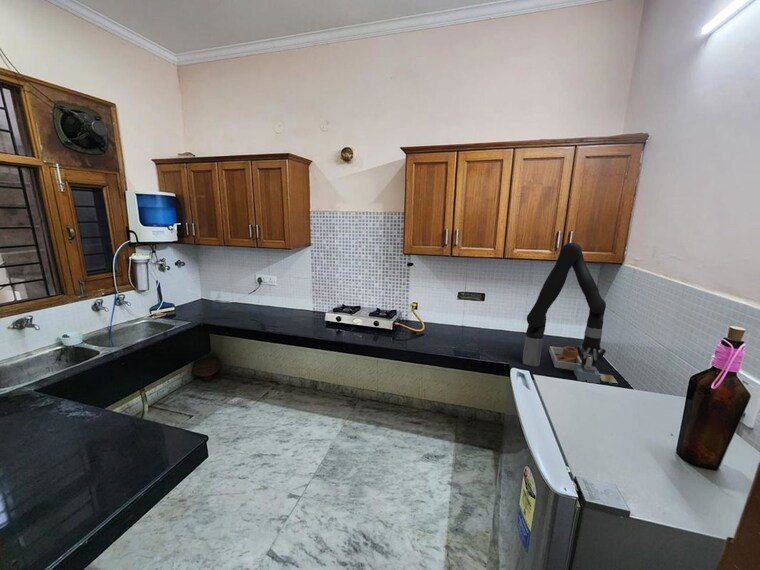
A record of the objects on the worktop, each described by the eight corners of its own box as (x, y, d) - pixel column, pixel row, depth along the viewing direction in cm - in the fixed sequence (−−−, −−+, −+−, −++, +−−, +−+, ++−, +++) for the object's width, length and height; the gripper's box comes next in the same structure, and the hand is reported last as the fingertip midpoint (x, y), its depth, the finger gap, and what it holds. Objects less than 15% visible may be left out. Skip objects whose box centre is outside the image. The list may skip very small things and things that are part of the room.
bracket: (566, 355, 201) (568, 345, 200) (580, 360, 194) (581, 350, 193) (549, 361, 193) (551, 350, 191) (563, 366, 185) (564, 355, 184)
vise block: (577, 380, 170) (579, 368, 168) (573, 372, 179) (575, 360, 178) (599, 383, 166) (601, 371, 165) (594, 375, 175) (596, 363, 174)
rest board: (602, 381, 168) (602, 380, 168) (597, 374, 177) (597, 373, 176) (617, 384, 166) (617, 383, 166) (612, 376, 174) (612, 375, 174)
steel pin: (583, 378, 172) (586, 356, 169) (581, 375, 175) (584, 354, 172) (590, 379, 170) (594, 357, 168) (589, 376, 174) (592, 355, 171)
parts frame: (554, 367, 185) (555, 360, 184) (549, 351, 207) (549, 346, 206) (583, 371, 180) (584, 365, 179) (574, 355, 202) (575, 349, 201)
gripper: (579, 335, 167) (574, 365, 170) (610, 339, 162) (605, 370, 165) (576, 331, 174) (571, 360, 177) (606, 334, 169) (601, 364, 172)
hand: (588, 364), depth 171 cm, fingers closed on steel pin, 3 cm apart
